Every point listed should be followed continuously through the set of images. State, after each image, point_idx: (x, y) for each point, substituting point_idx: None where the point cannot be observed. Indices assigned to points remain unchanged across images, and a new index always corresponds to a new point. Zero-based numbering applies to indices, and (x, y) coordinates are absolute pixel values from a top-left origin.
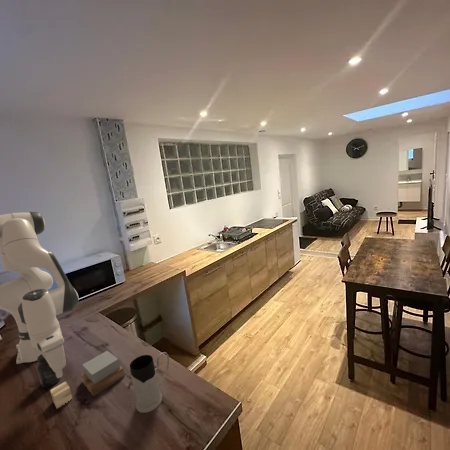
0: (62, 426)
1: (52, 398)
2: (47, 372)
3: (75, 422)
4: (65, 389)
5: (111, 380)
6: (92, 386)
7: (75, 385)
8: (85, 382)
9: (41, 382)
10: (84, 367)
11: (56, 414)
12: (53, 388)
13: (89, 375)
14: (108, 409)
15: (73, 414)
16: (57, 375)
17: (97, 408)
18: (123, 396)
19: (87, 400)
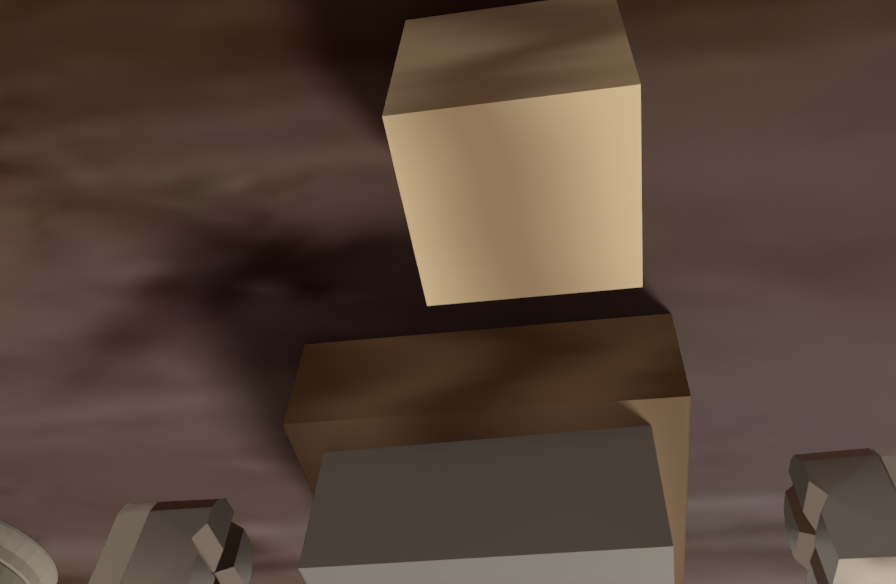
0: (16, 42)
1: (599, 21)
2: None
3: (7, 161)
4: (422, 263)
5: None
6: (301, 435)
7: (688, 253)
8: (504, 383)
9: None
10: (576, 546)
11: (291, 4)
12: (629, 134)
13: (430, 501)
14: (27, 388)
15: (151, 163)
16: (104, 569)
17: (96, 335)
18: (120, 484)
19: (284, 297)
